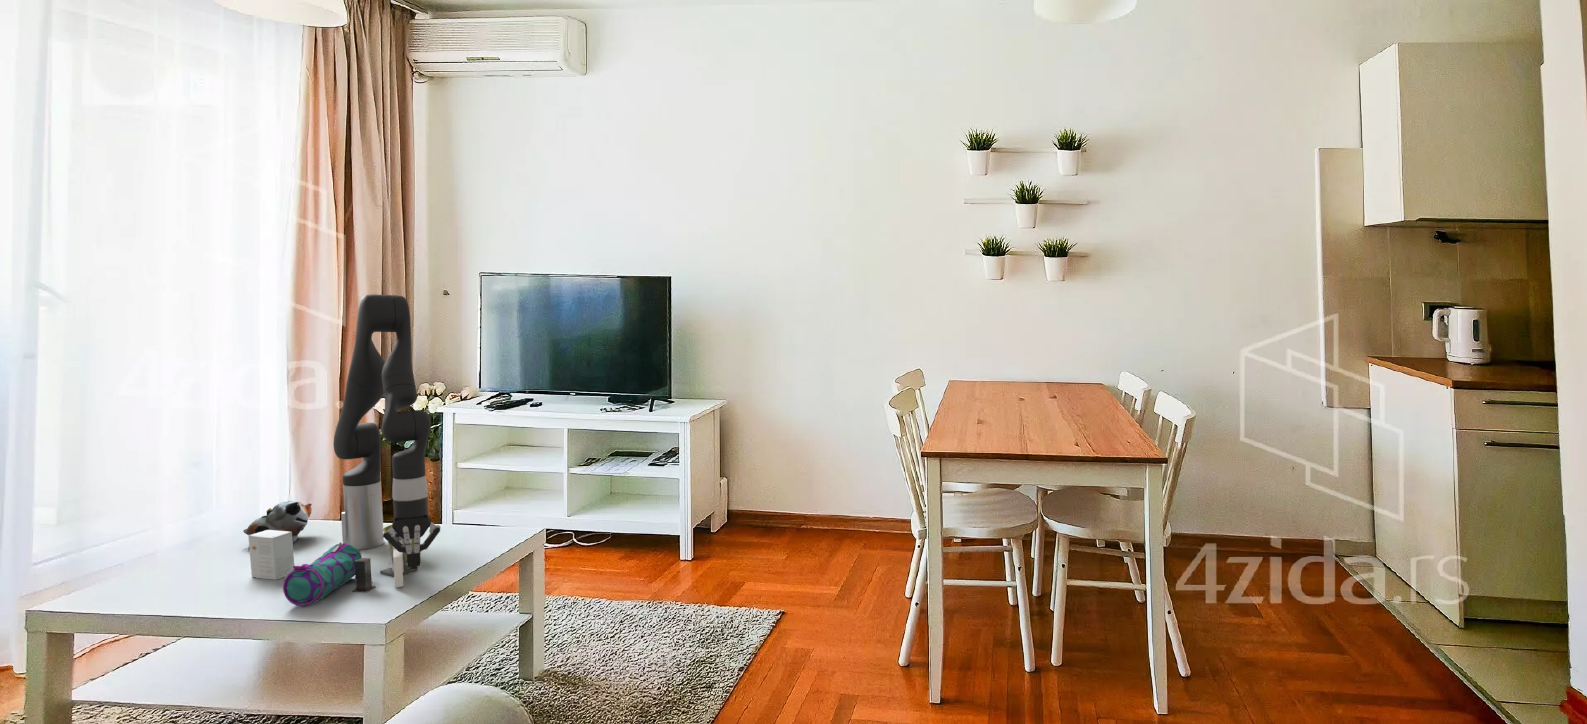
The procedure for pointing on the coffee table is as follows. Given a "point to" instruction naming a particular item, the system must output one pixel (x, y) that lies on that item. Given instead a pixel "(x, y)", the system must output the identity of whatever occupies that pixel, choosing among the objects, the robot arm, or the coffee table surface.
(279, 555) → the small box
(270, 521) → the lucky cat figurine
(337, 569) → the pencil case
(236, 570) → the coffee table surface
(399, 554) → the gate
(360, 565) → the post
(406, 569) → the post
